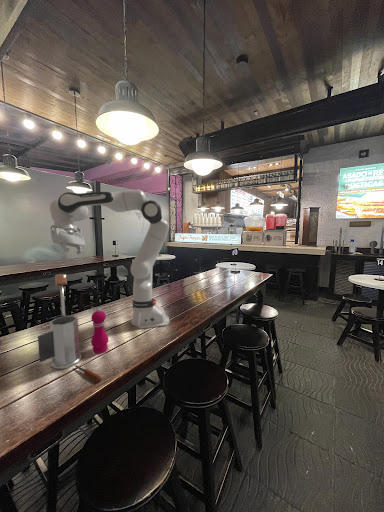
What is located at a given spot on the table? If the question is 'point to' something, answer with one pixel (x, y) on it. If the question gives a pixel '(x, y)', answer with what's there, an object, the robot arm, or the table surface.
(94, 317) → the pepper mill
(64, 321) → the plunger
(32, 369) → the table surface
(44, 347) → the press
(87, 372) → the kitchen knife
